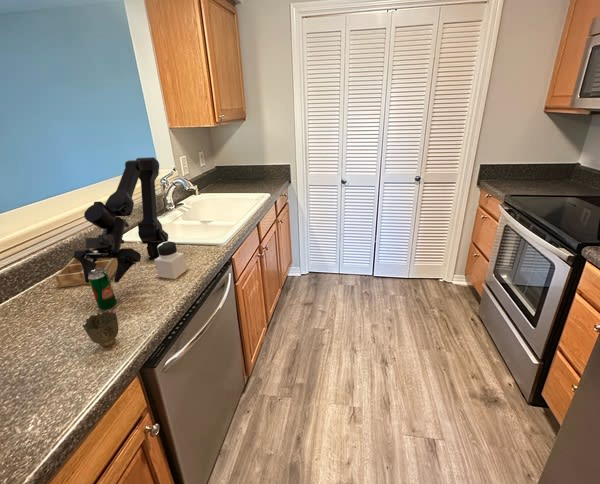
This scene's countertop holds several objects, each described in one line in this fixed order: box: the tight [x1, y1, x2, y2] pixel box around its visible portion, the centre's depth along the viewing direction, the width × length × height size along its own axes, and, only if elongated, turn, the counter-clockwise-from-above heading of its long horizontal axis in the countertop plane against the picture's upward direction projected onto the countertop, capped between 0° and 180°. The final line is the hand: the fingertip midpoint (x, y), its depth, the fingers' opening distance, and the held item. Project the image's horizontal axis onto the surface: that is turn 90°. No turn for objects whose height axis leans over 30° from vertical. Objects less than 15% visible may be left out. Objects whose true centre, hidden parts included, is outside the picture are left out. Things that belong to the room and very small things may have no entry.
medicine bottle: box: [154, 240, 188, 280], centre depth 115 cm, size 7×7×12 cm
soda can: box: [88, 269, 118, 311], centre depth 98 cm, size 5×5×12 cm
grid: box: [54, 255, 118, 288], centre depth 120 cm, size 16×16×4 cm
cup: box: [82, 309, 119, 348], centre depth 83 cm, size 8×7×8 cm
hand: (101, 282), depth 98 cm, fingers open, 9 cm apart
